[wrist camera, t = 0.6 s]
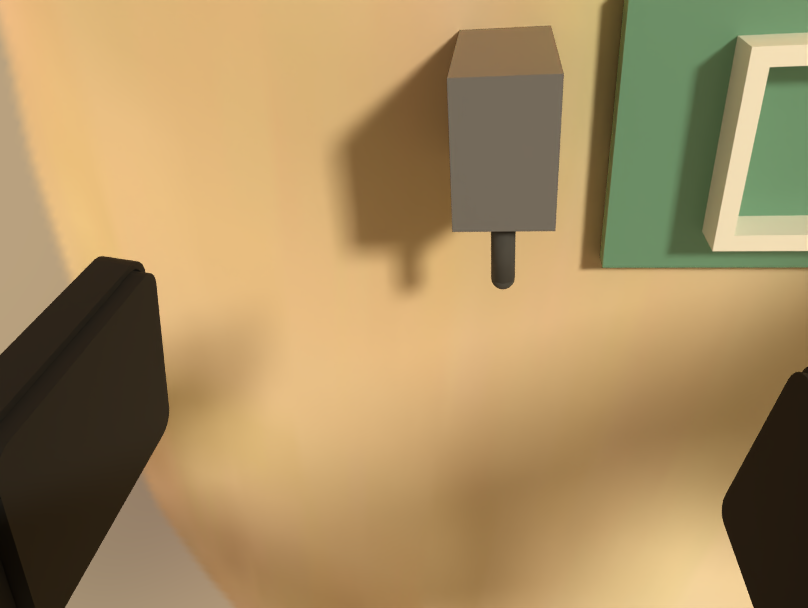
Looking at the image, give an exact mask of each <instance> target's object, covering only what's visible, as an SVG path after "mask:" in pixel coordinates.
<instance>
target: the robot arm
mask: <svg viewBox="0 0 808 608" xmlns="http://www.w3.org/2000/svg"><path fill="white" fill-rule="evenodd" d="M168 418H169V403H168V393H167V384H166V374H165V364H164V354H163V345H162V335H161V325H160V315H159V305H158V296H157V286H156V280H155V277H154V275H153V274H151V273H145V269H144V267H143V265H142V264H141V263H140V262H137V261H131V260H124V259H118V258H111V257H104V256H101V257H98V258H96V259H95V260H94V261H93V262H92V263H91V264H90V265H89V266H88V267H87V268H86V269H85V270H84V271H83V272H82V273H81V274H80V275H79V276H78V277H77V278H76V279H75V280H74V281H73V282H72V283H71V284H70V285H69V286H68V287H67V288H66V289H65V290H64V291H63V292H62V293H61V294H60V295H59V296H58V297H57V298H56V299H55V300H54V301H53V302H52V303H51V304H50V305H49V306H48V307H47V308H46V309H45V310H44V311H43V312H42V313H41V314H40V315H39V316H38V317H37V318H36V319H35V320H34V321H33V322H32V323H31V324H30V325H29V326H28V327H27V328H26V329H25V330H24V331H23V332H22V334H21V335H20V336H18V337H17V339H16V340H15V341H14V342H13V343H12V344H11V345H10V346H9V347H8V348H7V349H6V350H5V351H4V352H3V353H2V354H1V355H0V608H65V606H66V604H67V603H68V601H69V599H70V597H71V596H72V594H73V592H74V590H75V589H76V587H77V585H78V583H79V582H80V580H81V578H82V576H83V575H84V573H85V571H86V569H87V568H88V566H89V564H90V562H91V560H92V558H93V557H94V555H95V553H96V552H97V550H98V548H99V546H100V545H101V543H102V541H103V539H104V538H105V536H106V534H107V532H108V531H109V529H110V527H111V525H112V524H113V522H114V520H115V518H116V517H117V515H118V513H119V511H120V509H121V508H122V506H123V504H124V502H125V501H126V499H127V497H128V495H129V494H130V492H131V490H132V488H133V487H134V485H135V483H136V481H137V480H138V478H139V476H140V474H141V473H142V471H143V469H144V467H145V466H146V464H147V462H148V460H149V458H150V457H151V455H152V453H153V451H154V450H155V448H156V446H157V444H158V443H159V441H160V439H161V437H162V436H163V434H164V432H165V429H166V426H167V423H168ZM722 518H723V522H724V525H725V528H726V531H727V534H728V537H729V539H730V542H731V545H732V548H733V551H734V554H735V556H736V559H737V562H738V565H739V568H740V570H741V573H742V576H743V579H744V582H745V585H746V587H747V590H748V593H749V596H750V599H751V601H752V604H753V607H754V608H808V367H806V368H805V369H804V370H803V372H796V373H794V374H793V375H791V377H790V378H789V379H788V381H787V383H786V385H785V387H784V388H783V390H782V392H781V394H780V396H779V398H778V399H777V401H776V403H775V405H774V407H773V409H772V410H771V412H770V414H769V416H768V418H767V420H766V421H765V423H764V425H763V427H762V429H761V431H760V432H759V434H758V436H757V438H756V440H755V442H754V443H753V445H752V447H751V449H750V451H749V453H748V454H747V456H746V458H745V460H744V462H743V464H742V466H741V467H740V469H739V471H738V473H737V475H736V477H735V478H734V480H733V482H732V484H731V486H730V488H729V489H728V491H727V493H726V495H725V497H724V500H723V504H722Z"/></svg>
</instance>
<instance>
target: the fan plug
mask: <svg viewBox="0 0 808 608" xmlns="http://www.w3.org/2000/svg"><path fill="white" fill-rule="evenodd" d="M563 78H564V73H563V69H562V65H561V61H560V58H559V54H558V50H557V47H556V43H555V39H554V35H553V32H552V28H551V26H535V27H514V28H494V29H473V30H460V31H459V34H458V38H457V42H456V46H455V49H454V53H453V57H452V61H451V65H450V68H449V72H448V76H447V94H448V122H449V150H450V177H451V205H452V232H491V279H492V283H493V284H494V286H496V287H497V288H499V289H507V288H509V287H510V286H511V285H512V284H513V282H514V278H515V231H555V227H556V209H557V190H558V171H559V153H560V134H561V115H562V97H563Z"/></svg>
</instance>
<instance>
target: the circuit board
mask: <svg viewBox="0 0 808 608" xmlns="http://www.w3.org/2000/svg"><path fill="white" fill-rule="evenodd" d="M600 259H601V264H602V268H684V267H808V0H624V5H623V15H622V26H621V36H620V47H619V57H618V68H617V79H616V89H615V100H614V110H613V121H612V132H611V142H610V153H609V163H608V174H607V184H606V195H605V206H604V216H603V227H602V237H601V248H600Z"/></svg>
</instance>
